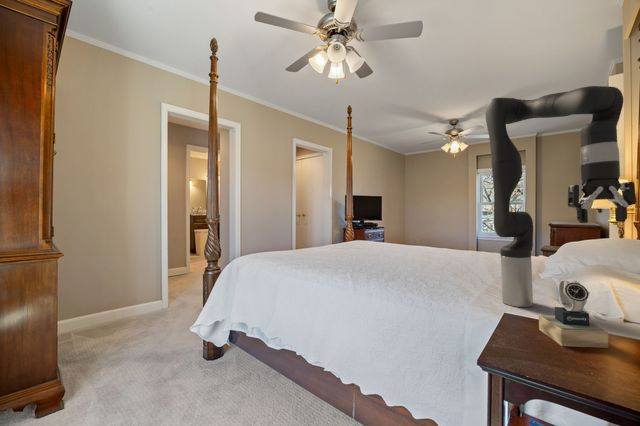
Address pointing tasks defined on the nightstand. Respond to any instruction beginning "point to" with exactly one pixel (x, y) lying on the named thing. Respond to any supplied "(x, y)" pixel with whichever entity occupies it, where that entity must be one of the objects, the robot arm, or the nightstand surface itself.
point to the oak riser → (573, 333)
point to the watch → (572, 303)
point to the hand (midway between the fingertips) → (601, 222)
